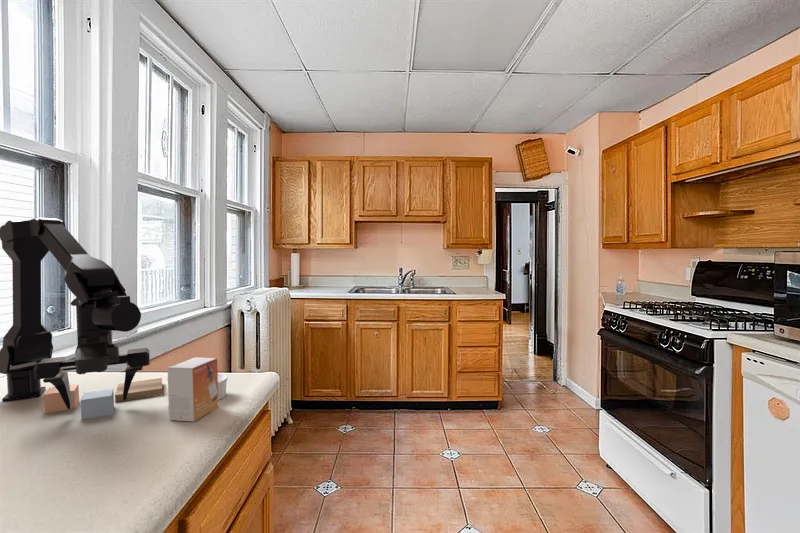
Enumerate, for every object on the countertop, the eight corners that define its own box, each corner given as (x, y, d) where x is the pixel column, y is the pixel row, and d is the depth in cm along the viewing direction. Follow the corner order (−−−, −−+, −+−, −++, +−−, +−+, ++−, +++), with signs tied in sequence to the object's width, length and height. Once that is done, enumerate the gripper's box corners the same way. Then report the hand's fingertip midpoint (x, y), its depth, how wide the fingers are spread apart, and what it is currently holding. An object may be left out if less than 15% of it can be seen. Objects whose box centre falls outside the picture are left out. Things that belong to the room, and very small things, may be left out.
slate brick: (84, 411, 88) (84, 392, 87) (114, 407, 90) (113, 388, 90) (81, 420, 83) (80, 400, 83) (112, 415, 86) (111, 395, 86)
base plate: (118, 390, 101) (118, 384, 100) (162, 383, 105) (161, 377, 105) (115, 402, 93) (115, 395, 93) (162, 394, 97) (162, 388, 97)
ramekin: (197, 408, 89) (196, 388, 89) (176, 399, 94) (176, 380, 94) (235, 396, 96) (235, 377, 96) (214, 388, 101) (214, 370, 101)
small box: (193, 422, 81) (191, 368, 81) (168, 420, 82) (166, 367, 82) (219, 407, 89) (218, 357, 89) (195, 405, 90) (194, 356, 90)
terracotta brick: (50, 406, 91) (49, 387, 91) (79, 401, 94) (78, 383, 93) (44, 413, 87) (43, 394, 87) (75, 409, 89) (74, 390, 89)
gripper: (23, 340, 74) (28, 428, 75) (147, 329, 84) (150, 407, 84) (38, 330, 84) (42, 408, 85) (148, 321, 93) (151, 391, 94)
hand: (97, 404), depth 87 cm, fingers open, 9 cm apart
